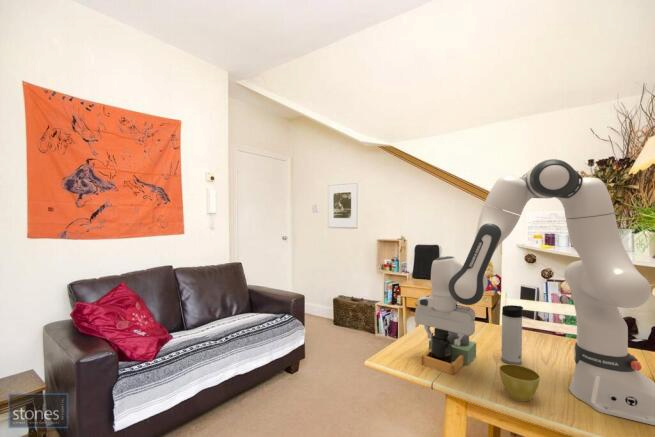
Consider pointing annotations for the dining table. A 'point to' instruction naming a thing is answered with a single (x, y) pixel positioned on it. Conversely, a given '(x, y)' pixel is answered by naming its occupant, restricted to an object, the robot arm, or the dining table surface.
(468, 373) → the dining table surface
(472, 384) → the dining table surface
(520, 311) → the travel mug
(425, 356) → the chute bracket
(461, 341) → the green block with knob
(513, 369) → the flower pot
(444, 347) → the supplement bottle
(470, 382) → the dining table surface
